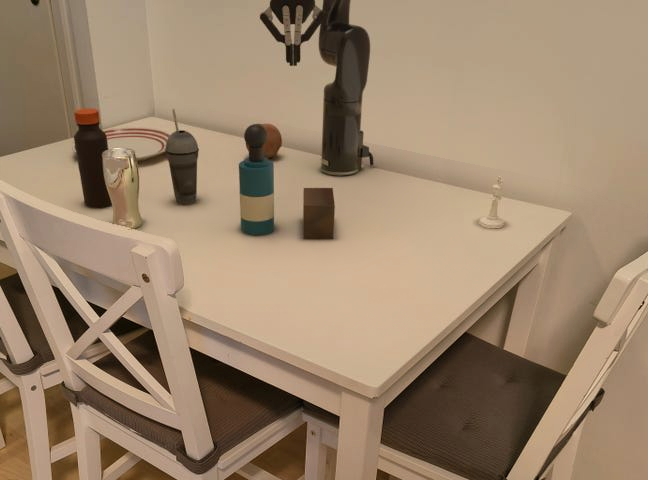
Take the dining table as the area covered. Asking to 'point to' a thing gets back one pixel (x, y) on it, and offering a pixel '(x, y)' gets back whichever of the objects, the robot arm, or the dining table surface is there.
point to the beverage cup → (183, 164)
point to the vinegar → (91, 157)
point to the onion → (271, 141)
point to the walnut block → (318, 213)
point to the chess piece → (494, 208)
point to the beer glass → (122, 185)
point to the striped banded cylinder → (256, 185)
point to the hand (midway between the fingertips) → (293, 65)
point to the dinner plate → (137, 141)
